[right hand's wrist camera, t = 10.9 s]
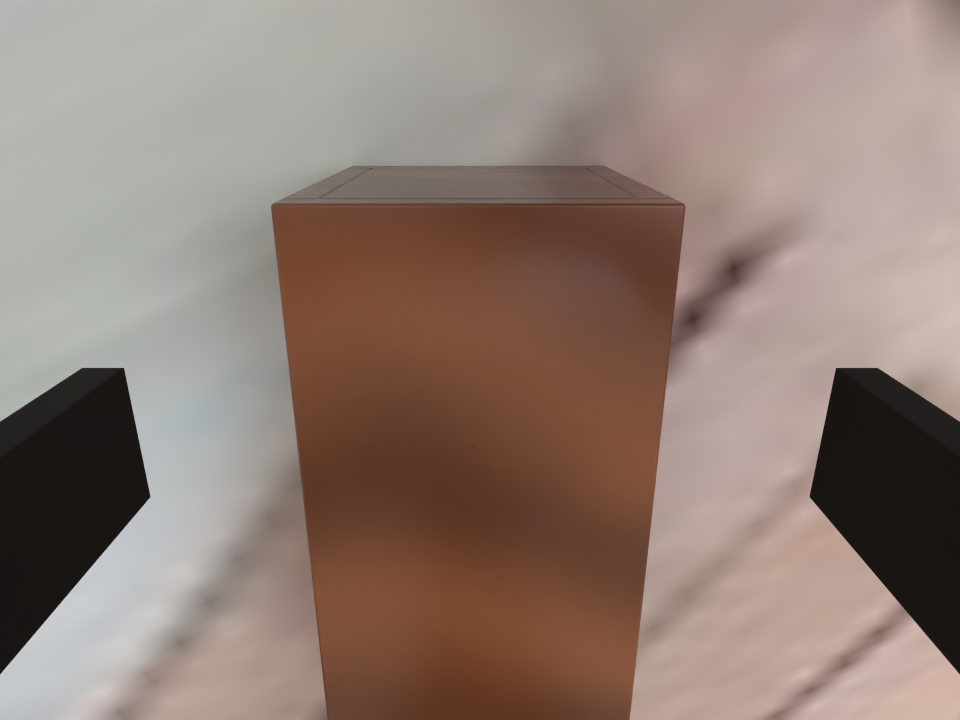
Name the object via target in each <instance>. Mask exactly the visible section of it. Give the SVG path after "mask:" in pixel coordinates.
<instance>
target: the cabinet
mask: <svg viewBox="0 0 960 720" xmlns="http://www.w3.org/2000/svg"><path fill="white" fill-rule="evenodd" d="M271 210H272V219H273V228H274V237H275V246H276V255H277V264H278V274H279V283H280V292H281V301H282V310H283V319H284V328H285V337H286V346H287V355H288V364H289V373H290V382H291V391H292V400H293V409H294V418H295V427H296V436H297V445H298V454H299V463H300V473H301V482H302V491H303V500H304V509H305V518H306V527H307V536H308V545H309V554H310V563H311V572H312V581H313V590H314V599H315V608H316V617H317V626H318V635H319V644H320V653H321V662H322V671H323V681H324V690H325V699H326V708H327V717H328V720H630V711H631V702H632V693H633V684H634V674H635V665H636V656H637V647H638V638H639V628H640V619H641V610H642V601H643V592H644V583H645V573H646V564H647V555H648V546H649V537H650V528H651V518H652V509H653V500H654V491H655V482H656V472H657V463H658V454H659V445H660V436H661V427H662V417H663V408H664V399H665V390H666V381H667V371H668V362H669V353H670V344H671V335H672V326H673V316H674V307H675V298H676V289H677V280H678V271H679V261H680V252H681V243H682V234H683V225H684V215H685V204H683V203H681V202H679V201H677V200H674V199H673V198H671V197H669V196H666V195H664V194H662V193H660V192H658V191H656V190H654V189H652V188H650V187H647V186H645V185H643V184H641V183H639V182H637V181H635V180H633V179H631V178H628V177H626V176H624V175H622V174H620V173H618V172H616V171H614V170H612V169H610V168H607V167H605V166H352V167H350V168H348V169H346V170H344V171H342V172H340V173H337V174H335V175H333V176H331V177H329V178H327V179H324V180H322V181H320V182H318V183H316V184H314V185H312V186H309V187H307V188H305V189H303V190H301V191H299V192H297V193H294V194H292V195H290V196H288V197H286V198H284V199H282V200H280V201H278V202H276V203H274V204H272V206H271Z"/></svg>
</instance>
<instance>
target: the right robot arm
mask: <svg viewBox="0 0 960 720" xmlns="http://www.w3.org/2000/svg"><path fill="white" fill-rule="evenodd" d="M149 498H150V493H149V488H148V483H147V478H146V473H145V468H144V463H143V459H142V454H141V449H140V444H139V439H138V434H137V429H136V425H135V420H134V415H133V410H132V405H131V400H130V395H129V391H128V386H127V381H126V376H125V371H124V368H82V369H80V370H79V371H77V372H76V373H74V374H72V375H71V376H69V377H68V378H66V379H65V380H63V381H62V382H60V383H59V384H57V385H56V386H54V387H53V388H51V389H50V390H48V391H47V392H45V393H43V394H42V395H40V396H39V397H37V398H36V399H34V400H33V401H31V402H30V403H28V404H27V405H25V406H24V407H22V408H21V409H19V410H17V411H16V412H14V413H13V414H11V415H10V416H8V417H7V418H5V419H4V420H2V421H1V422H0V674H1V673H2V671H3V670H4V669H5V668H6V667H7V666H8V664H9V663H10V662H11V661H12V660H13V658H14V657H15V656H16V655H17V654H18V653H19V651H20V650H21V649H22V648H23V647H24V645H25V644H26V643H27V642H28V641H29V640H30V638H31V637H32V636H33V635H34V634H35V632H36V631H37V630H38V629H39V628H40V627H41V625H42V624H43V623H44V622H45V621H46V620H47V618H48V617H49V616H50V615H51V614H52V612H53V611H54V610H55V609H56V608H57V607H58V605H59V604H60V603H61V602H62V601H63V599H64V598H65V597H66V596H67V595H68V594H69V592H70V591H71V590H72V589H73V588H74V586H75V585H76V584H77V583H78V582H79V581H80V579H81V578H82V577H83V576H84V575H85V573H86V572H87V571H88V570H89V569H90V568H91V566H92V565H93V564H94V563H95V562H96V560H97V559H98V558H99V557H100V556H101V555H102V553H103V552H104V551H105V550H106V549H107V547H108V546H109V545H110V544H111V543H112V542H113V540H114V539H115V538H116V537H117V536H118V535H119V533H120V532H121V531H122V530H123V529H124V527H125V526H126V525H127V524H128V523H129V522H130V520H131V519H132V518H133V517H134V516H135V514H136V513H137V512H138V511H139V510H140V509H141V507H142V506H143V505H144V504H145V503H146V501H147V500H148V499H149ZM810 498H811V499H812V500H813V501H814V503H815V504H816V505H817V506H818V507H819V509H820V510H821V511H822V512H823V513H824V514H825V516H826V517H827V518H828V519H829V520H830V522H831V523H832V524H833V525H834V526H835V527H836V529H837V530H838V531H839V532H840V533H841V535H842V536H843V537H844V538H845V539H846V540H847V542H848V543H849V544H850V545H851V546H852V547H853V549H854V550H855V551H856V552H857V553H858V555H859V556H860V557H861V558H862V559H863V560H864V562H865V563H866V564H867V565H868V566H869V568H870V569H871V570H872V571H873V572H874V573H875V575H876V576H877V577H878V578H879V579H880V581H881V582H882V583H883V584H884V585H885V586H886V588H887V589H888V590H889V591H890V592H891V594H892V595H893V596H894V597H895V598H896V599H897V601H898V602H899V603H900V604H901V605H902V607H903V608H904V609H905V610H906V611H907V612H908V614H909V615H910V616H911V617H912V618H913V620H914V621H915V622H916V623H917V624H918V625H919V627H920V628H921V629H922V630H923V631H924V632H925V634H926V635H927V636H928V637H929V638H930V640H931V641H932V642H933V643H934V644H935V645H936V647H937V648H938V649H939V650H940V651H941V653H942V654H943V655H944V656H945V657H946V658H947V660H948V661H949V662H950V663H951V664H952V666H953V667H954V668H955V669H956V670H957V671H958V673H959V674H960V422H959V421H958V420H956V419H955V418H953V417H952V416H950V415H949V414H947V413H946V412H944V411H943V410H941V409H939V408H938V407H936V406H935V405H933V404H932V403H930V402H929V401H927V400H926V399H924V398H923V397H921V396H920V395H918V394H917V393H915V392H913V391H912V390H910V389H909V388H907V387H906V386H904V385H903V384H901V383H900V382H898V381H897V380H895V379H894V378H892V377H891V376H889V375H888V374H886V373H884V372H883V371H881V370H880V369H878V368H836V371H835V376H834V381H833V386H832V391H831V395H830V400H829V405H828V410H827V415H826V420H825V425H824V429H823V434H822V439H821V444H820V449H819V454H818V459H817V463H816V468H815V473H814V478H813V483H812V488H811V493H810Z"/></svg>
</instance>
